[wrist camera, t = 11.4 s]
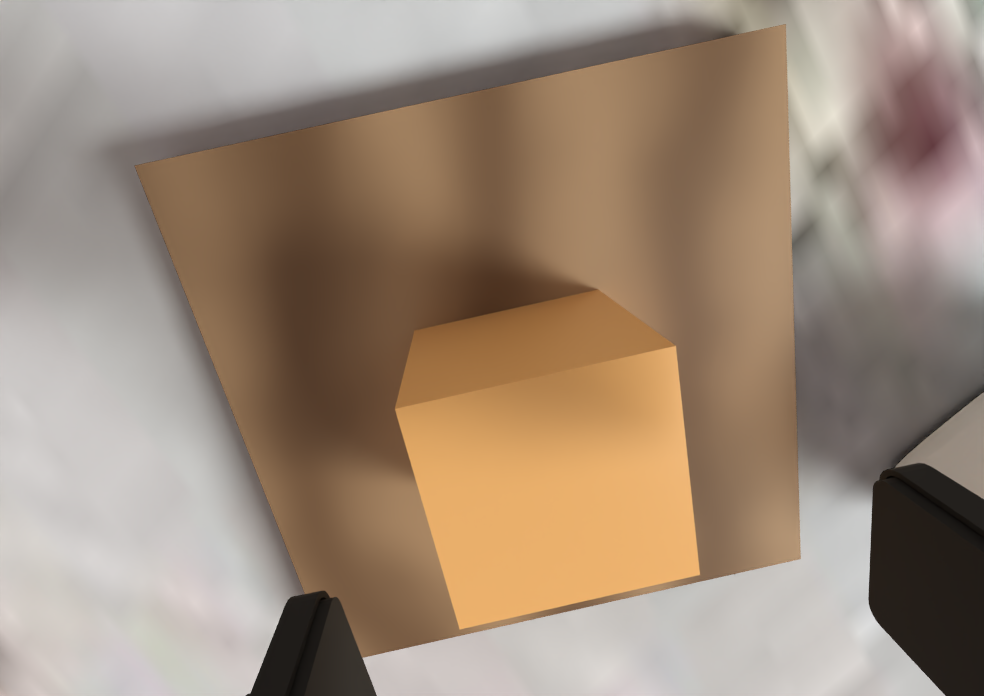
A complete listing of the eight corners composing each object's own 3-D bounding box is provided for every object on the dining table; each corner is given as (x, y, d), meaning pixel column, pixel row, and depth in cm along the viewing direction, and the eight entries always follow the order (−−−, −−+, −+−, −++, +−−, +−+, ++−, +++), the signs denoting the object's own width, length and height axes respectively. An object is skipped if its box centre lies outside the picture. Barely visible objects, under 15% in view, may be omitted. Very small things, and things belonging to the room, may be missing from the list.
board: (749, 41, 18) (928, -44, 11) (772, 528, 24) (897, 662, 17) (168, 167, 18) (-5, 157, 11) (342, 625, 24) (300, 798, 17)
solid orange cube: (598, 289, 18) (675, 345, 12) (622, 452, 20) (700, 574, 14) (414, 330, 18) (394, 408, 12) (456, 490, 20) (459, 629, 14)
